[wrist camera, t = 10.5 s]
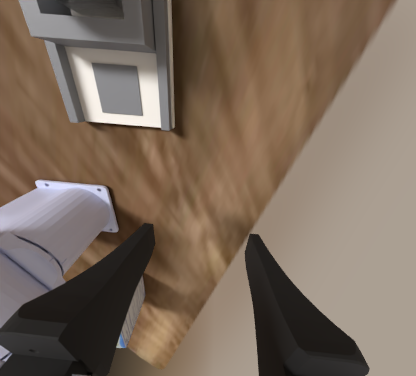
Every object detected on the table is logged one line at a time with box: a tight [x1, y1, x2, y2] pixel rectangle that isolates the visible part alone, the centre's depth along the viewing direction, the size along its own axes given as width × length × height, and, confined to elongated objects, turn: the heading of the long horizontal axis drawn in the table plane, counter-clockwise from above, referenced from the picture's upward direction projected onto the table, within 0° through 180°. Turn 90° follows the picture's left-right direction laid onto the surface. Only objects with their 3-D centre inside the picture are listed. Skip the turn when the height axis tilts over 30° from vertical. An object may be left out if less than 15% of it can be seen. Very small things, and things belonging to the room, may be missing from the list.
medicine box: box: [116, 275, 145, 348], centre depth 29 cm, size 8×4×9 cm, turn 173°
